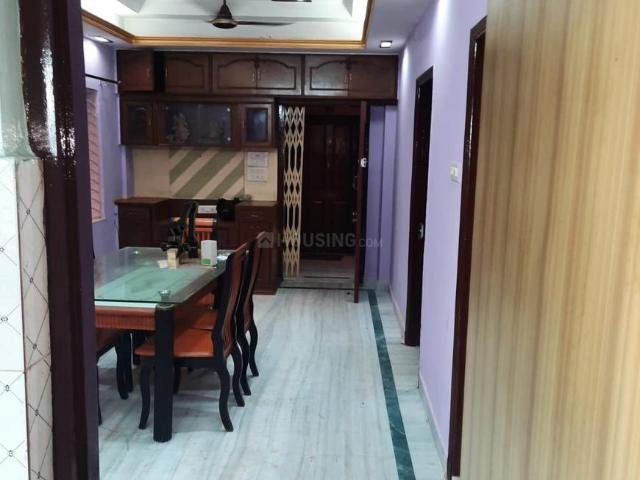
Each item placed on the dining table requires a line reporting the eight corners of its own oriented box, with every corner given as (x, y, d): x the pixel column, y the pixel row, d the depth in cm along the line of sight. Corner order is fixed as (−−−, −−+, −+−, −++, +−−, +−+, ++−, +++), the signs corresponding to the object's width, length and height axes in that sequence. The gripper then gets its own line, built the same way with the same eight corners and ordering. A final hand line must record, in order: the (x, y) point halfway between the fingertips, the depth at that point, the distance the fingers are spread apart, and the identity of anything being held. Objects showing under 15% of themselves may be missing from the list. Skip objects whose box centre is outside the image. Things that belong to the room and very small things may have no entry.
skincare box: (201, 264, 360) (200, 241, 358) (208, 262, 366) (206, 239, 363) (211, 265, 356) (210, 242, 354) (218, 263, 362) (216, 240, 360)
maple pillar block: (171, 267, 356) (170, 248, 354) (179, 267, 355) (177, 248, 353) (168, 268, 351) (167, 250, 349) (176, 268, 350) (174, 250, 348)
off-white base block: (172, 263, 367) (172, 259, 366) (175, 266, 358) (175, 261, 357) (157, 265, 362) (156, 261, 362) (159, 268, 354) (159, 263, 353)
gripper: (159, 231, 354) (153, 251, 345) (187, 230, 351) (182, 251, 342) (166, 241, 363) (160, 261, 354) (193, 241, 360) (187, 261, 351)
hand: (172, 258), depth 350 cm, fingers closed on maple pillar block, 5 cm apart
